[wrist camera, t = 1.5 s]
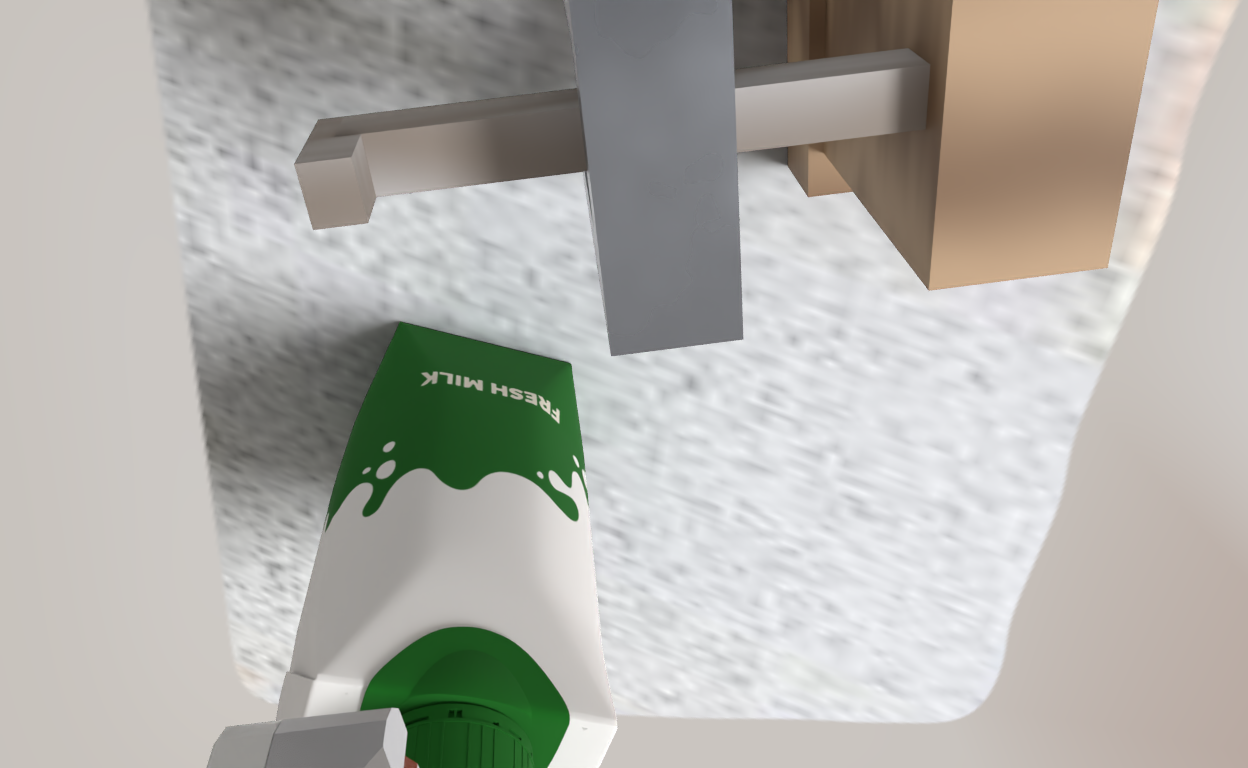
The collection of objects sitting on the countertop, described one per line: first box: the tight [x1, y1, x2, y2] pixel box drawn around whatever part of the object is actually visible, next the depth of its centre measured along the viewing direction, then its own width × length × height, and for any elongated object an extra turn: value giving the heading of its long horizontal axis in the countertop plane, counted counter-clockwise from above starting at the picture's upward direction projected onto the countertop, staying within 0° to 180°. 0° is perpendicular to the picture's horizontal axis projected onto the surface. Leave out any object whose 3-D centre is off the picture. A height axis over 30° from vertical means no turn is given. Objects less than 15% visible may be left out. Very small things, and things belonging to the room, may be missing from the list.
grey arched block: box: [564, 0, 743, 356], centre depth 25 cm, size 8×3×11 cm, turn 5°
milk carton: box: [276, 322, 618, 768], centre depth 32 cm, size 9×9×20 cm
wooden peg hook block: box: [294, 0, 1159, 291], centre depth 27 cm, size 12×20×14 cm, turn 95°
